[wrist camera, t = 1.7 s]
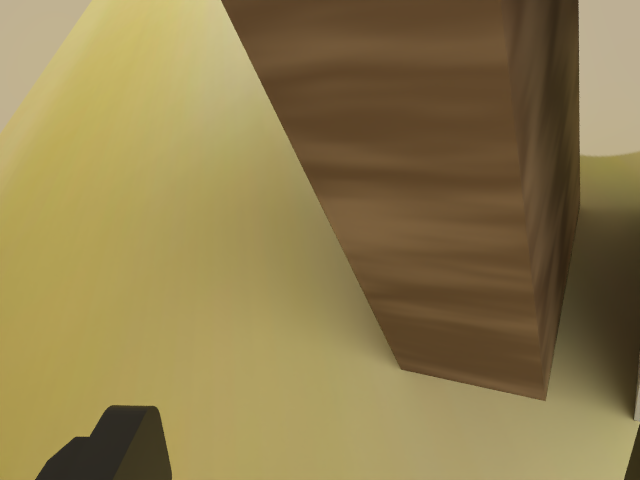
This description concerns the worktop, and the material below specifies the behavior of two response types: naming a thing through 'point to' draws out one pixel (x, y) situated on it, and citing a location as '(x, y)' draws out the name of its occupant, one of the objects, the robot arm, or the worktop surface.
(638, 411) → the grey stand
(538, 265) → the walnut stand
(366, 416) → the worktop surface
